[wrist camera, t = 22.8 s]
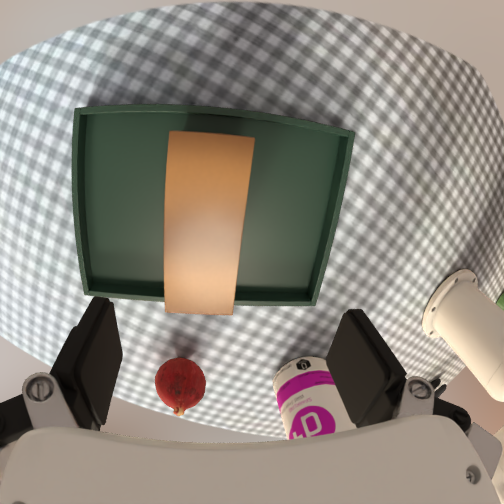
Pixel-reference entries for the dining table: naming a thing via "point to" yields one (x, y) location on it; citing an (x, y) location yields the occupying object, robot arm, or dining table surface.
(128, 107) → the tray
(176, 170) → the tan wooden block
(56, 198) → the dining table surface
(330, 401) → the supplement can
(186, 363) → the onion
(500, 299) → the ramekin
